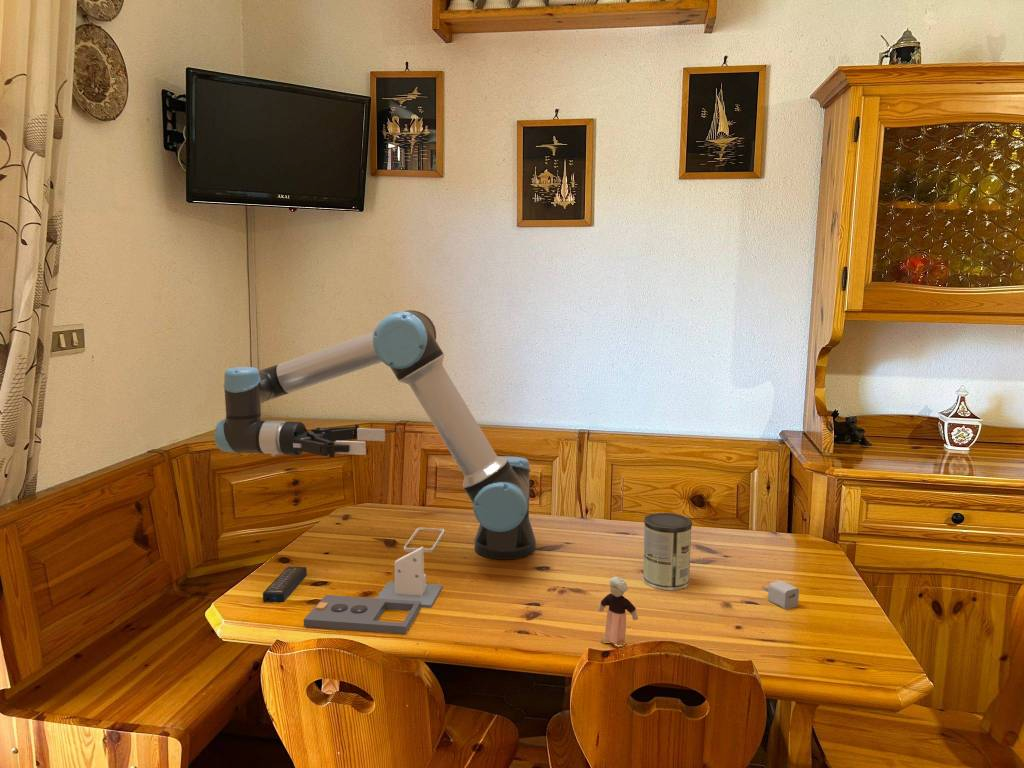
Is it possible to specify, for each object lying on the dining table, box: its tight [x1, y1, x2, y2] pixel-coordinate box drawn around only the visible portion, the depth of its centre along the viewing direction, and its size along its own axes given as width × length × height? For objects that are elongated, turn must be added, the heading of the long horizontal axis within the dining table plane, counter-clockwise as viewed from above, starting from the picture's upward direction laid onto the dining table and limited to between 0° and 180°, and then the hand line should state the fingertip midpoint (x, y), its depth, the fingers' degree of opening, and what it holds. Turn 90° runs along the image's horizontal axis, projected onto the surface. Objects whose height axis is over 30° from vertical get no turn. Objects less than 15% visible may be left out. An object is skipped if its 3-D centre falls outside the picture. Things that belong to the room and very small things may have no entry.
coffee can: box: [642, 512, 693, 591], centre depth 160 cm, size 10×10×14 cm
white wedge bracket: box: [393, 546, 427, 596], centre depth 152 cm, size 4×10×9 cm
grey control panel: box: [303, 594, 422, 635], centre depth 142 cm, size 20×11×2 cm, turn 82°
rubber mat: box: [376, 580, 444, 609], centre depth 152 cm, size 12×10×1 cm
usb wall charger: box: [761, 580, 800, 610], centre depth 151 cm, size 4×7×4 cm, turn 28°
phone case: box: [403, 527, 445, 553], centre depth 184 cm, size 7×1×15 cm
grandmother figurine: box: [597, 576, 639, 648], centre depth 132 cm, size 8×4×13 cm, turn 69°
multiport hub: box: [262, 566, 308, 603], centre depth 155 cm, size 4×14×2 cm, turn 177°
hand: (375, 441), depth 161 cm, fingers open, 13 cm apart
